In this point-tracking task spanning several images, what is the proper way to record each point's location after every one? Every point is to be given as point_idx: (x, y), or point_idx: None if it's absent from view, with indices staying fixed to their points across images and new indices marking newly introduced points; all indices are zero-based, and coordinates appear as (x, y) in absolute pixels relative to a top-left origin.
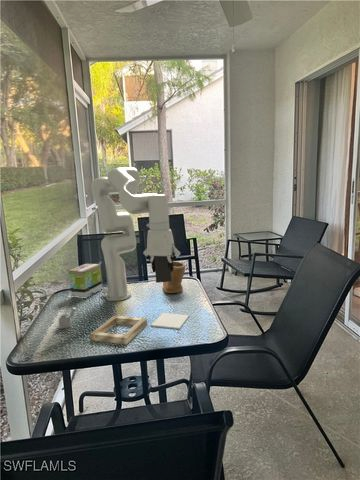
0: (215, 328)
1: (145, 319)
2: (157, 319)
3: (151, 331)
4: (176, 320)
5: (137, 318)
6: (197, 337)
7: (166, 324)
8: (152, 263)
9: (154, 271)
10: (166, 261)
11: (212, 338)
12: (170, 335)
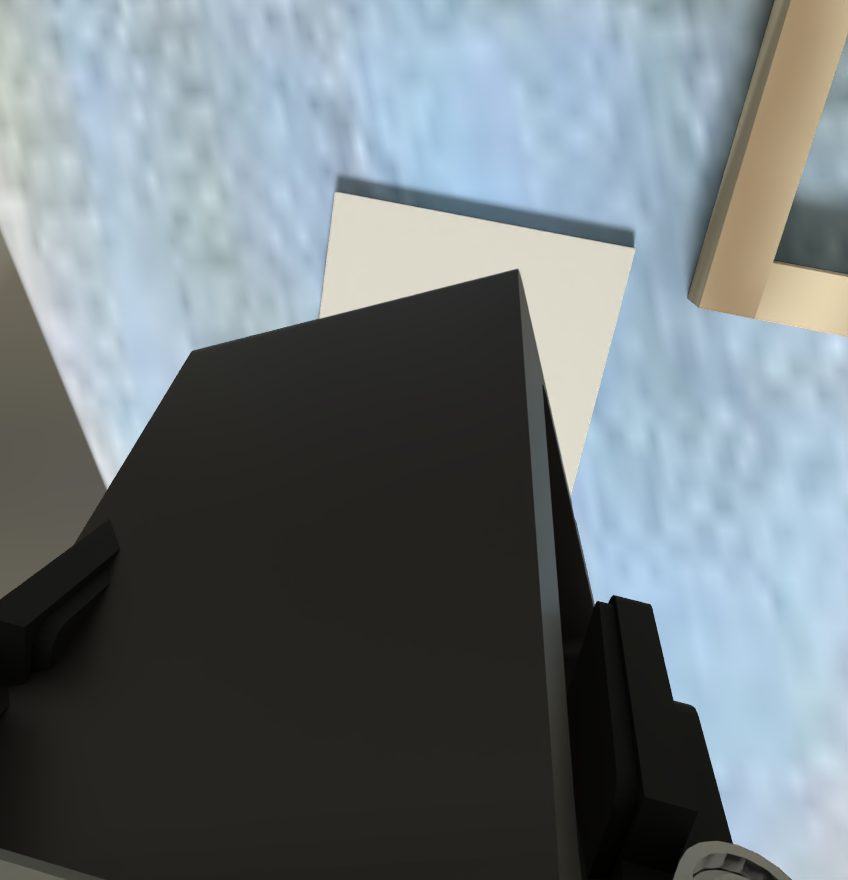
0: (38, 220)
1: (707, 279)
2: (590, 380)
3: (610, 129)
4: None
5: (810, 306)
6: (145, 24)
7: (475, 263)
8: (677, 782)
9: (600, 603)
10: (66, 721)
11: (18, 14)
12: (399, 48)
